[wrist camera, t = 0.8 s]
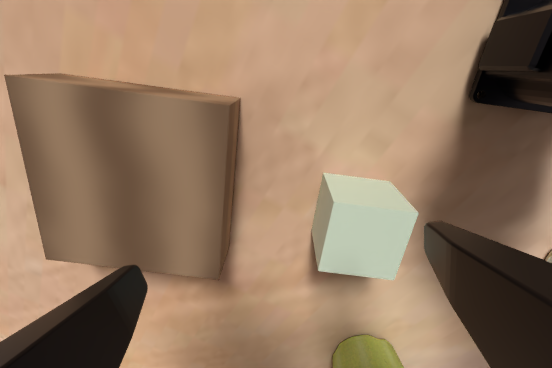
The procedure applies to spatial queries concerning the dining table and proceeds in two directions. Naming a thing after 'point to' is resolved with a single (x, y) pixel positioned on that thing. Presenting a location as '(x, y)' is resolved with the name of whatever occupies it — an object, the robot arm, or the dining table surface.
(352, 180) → the sage cube
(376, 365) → the plant pot
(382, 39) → the dining table surface
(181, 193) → the walnut base
